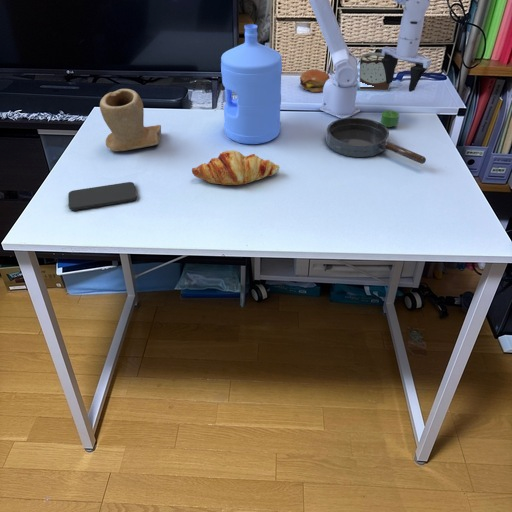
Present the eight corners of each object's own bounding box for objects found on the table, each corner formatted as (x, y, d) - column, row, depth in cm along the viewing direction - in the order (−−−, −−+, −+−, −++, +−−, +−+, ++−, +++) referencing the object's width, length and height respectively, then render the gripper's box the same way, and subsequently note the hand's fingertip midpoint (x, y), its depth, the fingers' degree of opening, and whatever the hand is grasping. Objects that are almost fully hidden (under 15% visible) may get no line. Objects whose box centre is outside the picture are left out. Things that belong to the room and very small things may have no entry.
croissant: (276, 179, 126) (275, 147, 124) (284, 182, 116) (282, 148, 114) (193, 185, 123) (190, 152, 122) (193, 188, 114) (190, 153, 112)
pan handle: (379, 148, 127) (380, 141, 126) (384, 145, 128) (385, 138, 127) (421, 166, 120) (423, 159, 119) (426, 163, 121) (428, 156, 120)
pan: (313, 142, 134) (314, 130, 131) (351, 123, 142) (353, 112, 140) (361, 164, 125) (363, 152, 122) (399, 143, 133) (401, 131, 131)
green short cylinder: (376, 125, 141) (378, 112, 138) (386, 120, 143) (388, 107, 141) (390, 131, 138) (392, 118, 135) (400, 125, 140) (403, 113, 138)
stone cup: (107, 160, 127) (94, 104, 117) (106, 138, 136) (94, 85, 126) (166, 152, 130) (158, 98, 120) (161, 132, 139) (154, 79, 129)
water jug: (283, 121, 143) (287, 18, 125) (275, 147, 131) (278, 38, 113) (231, 117, 145) (226, 15, 127) (218, 143, 134) (211, 34, 115)
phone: (137, 197, 113) (68, 208, 110) (137, 200, 113) (69, 211, 110) (133, 181, 118) (68, 190, 115) (134, 184, 119) (69, 193, 115)
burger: (326, 80, 166) (327, 66, 163) (332, 92, 159) (333, 77, 156) (297, 82, 165) (297, 68, 162) (301, 93, 158) (302, 79, 155)
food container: (391, 83, 163) (396, 52, 157) (393, 91, 159) (398, 59, 152) (353, 82, 164) (357, 51, 158) (354, 89, 160) (358, 58, 153)
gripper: (441, 39, 130) (430, 89, 139) (395, 27, 138) (387, 75, 147) (426, 45, 126) (416, 97, 135) (380, 33, 134) (372, 82, 143)
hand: (400, 86), depth 141 cm, fingers open, 7 cm apart
